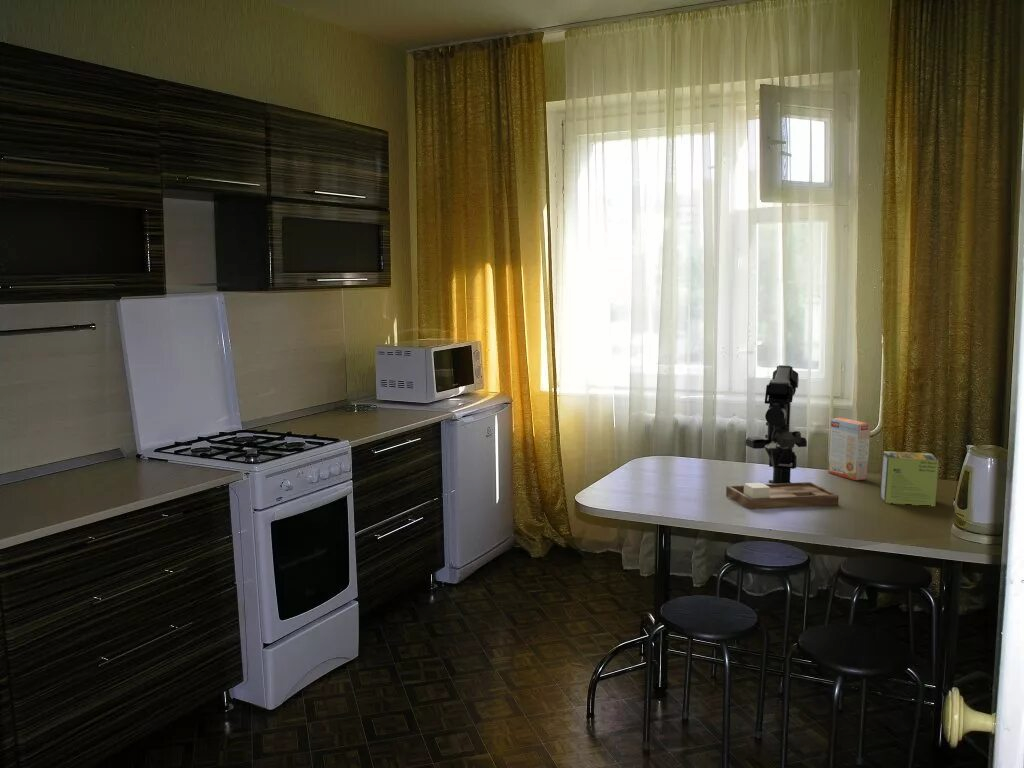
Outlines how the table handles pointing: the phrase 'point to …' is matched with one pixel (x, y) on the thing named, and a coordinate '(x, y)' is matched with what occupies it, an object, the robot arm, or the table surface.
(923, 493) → the protein box
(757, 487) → the cream block
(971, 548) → the table surface
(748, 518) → the table surface
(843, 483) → the table surface
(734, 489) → the tray
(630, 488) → the table surface
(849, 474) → the cracker box
